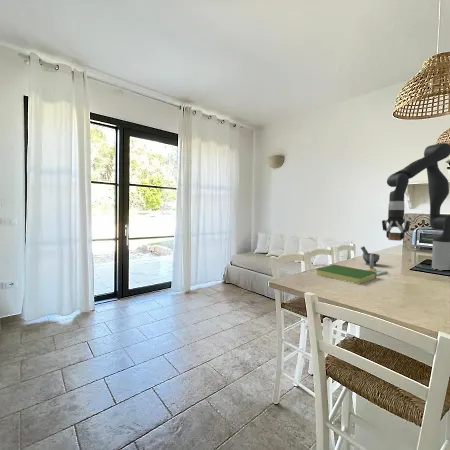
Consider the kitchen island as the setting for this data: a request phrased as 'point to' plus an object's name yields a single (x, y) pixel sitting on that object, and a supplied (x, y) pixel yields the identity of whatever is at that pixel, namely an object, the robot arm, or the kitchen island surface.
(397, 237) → the ring
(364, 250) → the mortar and pestle
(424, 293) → the kitchen island surface
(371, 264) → the post
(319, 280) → the kitchen island surface
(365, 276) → the hardcover book
